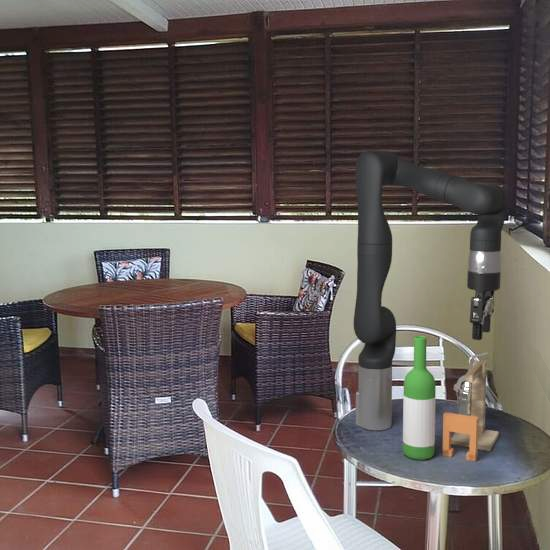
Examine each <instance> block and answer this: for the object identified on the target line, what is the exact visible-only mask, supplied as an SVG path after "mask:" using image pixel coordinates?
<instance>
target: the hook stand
mask: <svg viewBox="0 0 550 550" xmlns="http://www.w3.org/2000/svg"><path fill="white" fill-rule="evenodd" d="M487 365H488V362H487V361H484V360H477V359H475V360H474V361H473V362H472V365H471V369H470V370H469V371H468V370H467V372H466V373H465V375H466V382H470V383H472V402H471V416H474V417H478V449H477V450H483V451H488V452H491V450H492V448H493V446H494V445H495V443H496V441H497V439H498V437H499V436H500V435H499V434H500V431H497V430H491V429H485V428H486V402H487V401H486V400H487V399H486V398H487V394H486V393H487ZM451 445H453V446H458V447H459V446H460V447H466V448H469V447H470V435H468V434H462V433H456V432H454V434H453V435H451Z"/></svg>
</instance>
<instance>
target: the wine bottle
mask: <svg viewBox="0 0 550 550" xmlns="http://www.w3.org/2000/svg"><path fill="white" fill-rule="evenodd" d="M436 386H437V384H436V379H435V377H434V375H433V374H432V373H431V372H430V371H429V370H428V369H427V337H426V336H424V335H416V336H414V337H413V368H412V369H411V370H409V371H408V372H407V373H406V375H405V376H404V380H403V396H402V397H403V398H402V400H403V402H402V403H403V406H402V408H403V409H402V415H403V416H402V452H403V453H404V455H405V456H406V457H408V458H409V459H412V460H416V461H421V460H422V461H423V460H425V461H426V460H428V459H431V458H433V456H434V454H435V445H436V444H435V443H436V398H437V397H436V395H437V394H436V391H437V390H436V389H437V388H436Z"/></svg>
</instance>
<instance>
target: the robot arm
mask: <svg viewBox="0 0 550 550" xmlns="http://www.w3.org/2000/svg"><path fill="white" fill-rule="evenodd" d="M355 163H356V164H355V170H354V172H355V173H354V174H355V185H356V197H357V243H356V244H357V247H356V248H357V249H356V250H357V251H356V253H357V255H356V256H357V259H356V260H357V268H356V269H357V273H356V296H355V297H356V299H355V306H354V314H353V331H354V334H355V336H356V338H357V339H358V340H359V341H360V342H361V343H363V344H364V346H363V349H361V351H360V353H359V354H358V364H357V365H358V366H357V367H358V377H357V378H358V379H357V381H358V382H357V383H358V384H357V385H358V386H357V387H358V390H357V391H356V392H355V426H359V427H360V428H362V429H365V430H369V431H384V430H388V429H390V428H391V427H392V424H393V423H392V420H393V416H392V415H393V414H392V413H393V412H392V410H393V359H394V357H395V353H396V343H397V341H396V340H397V320H396V318H395V315H394V313H393V312H392V311H391V309H390V308H388V307H386V306H384V305H383V306H382V299H383V298H382V297H383V291H384V287H385V283H386V280H387V277H388V276H389V275H388V274H389V272H390V268H391V266H392V259H393V234H392V230H391V227H390V224H389V222H388V219H387V217H386V214H385V211H384V208H383V186H398V187H405V188H409V189H412V190H413V191H416V192H418V193H420V194H422V195H423V196H425V197H427V198H430V199H433V200H435V201H439V202H442V203H444V204H447V205H453V206H455V207H457V208H459V209H460V210H463V211H465V212H467V213H470V214H474V215H477V216H478V217H477V222H476V224H475V225H474V226H472V228H471V230H470V234H469V235H470V236H469V252H468V258H467V279H466V281H467V282H466V286H467V289H469V290H473V291H474V292H475V293H474V296H472V297H470V311H469V312H470V314H469V322H470V324H472V331H471V332H472V333H471V334H472V335H471V338H472V340H476V341H481V340H482V339H483V333H490V332H491V319H492V316H493V314H494V312H495V291H498V290H500V289H501V274H502V273H501V271H502V254H501V250H502V230H503V227H504V224H505V221H506V217H507V213H508V206H509V205H508V203H509V202H508V200H509V199H508V195H507V192H506V190H505V189H504V188H503V187H502V186H501V185H498V184H494V183H492V184H482V183H481V184H480V183H476V182H472V181H469V180H467V179H466V178H464V177H462V176H459V175H456V174H453V173H452V174H451V173H449V172H446V171H445V172H444V171H440V170H437V169H433V168H430V167H429V168H428V167H425V166H422V165H421V166H420V165H419V164H415V163H413V162H411V161H410V160H407V159H405V158H402V157H401V156H398V155H397V154H395V153H392V152H390V151H388V150H377V149H375V150H369V149H368V150H365V151H362V153H361V154H360V155H358V158H357V160H356V162H355Z"/></svg>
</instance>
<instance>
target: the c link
mask: <svg viewBox="0 0 550 550" xmlns="http://www.w3.org/2000/svg"><path fill="white" fill-rule="evenodd" d="M442 416H443V417H442V457H443V456H445V457H450V458H452V457H453V456H454V447H451V445H452V444H451V438H452V433H455V432H456V433H462V434H468V435H470V447H468V448H469V449H468V451H467V452H466V454H465V455H466V457H465V459H466V461H472V462H476V461H477V460H478V450H479V449H478V417H474V416H467V415H460V414H459V413H454V412H445V411H444V413H443V415H442Z"/></svg>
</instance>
